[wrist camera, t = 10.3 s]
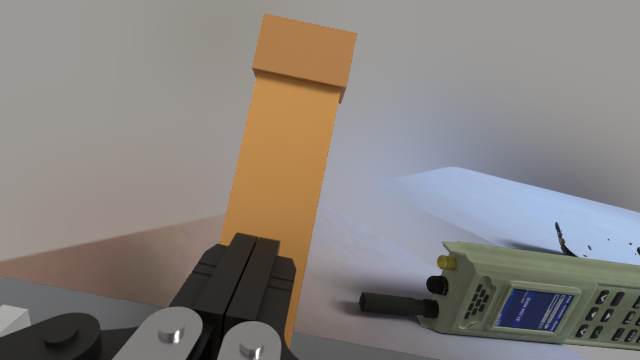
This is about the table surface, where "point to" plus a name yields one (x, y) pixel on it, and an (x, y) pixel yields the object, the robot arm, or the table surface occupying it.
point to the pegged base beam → (47, 301)
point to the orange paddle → (288, 138)
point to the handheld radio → (525, 297)
